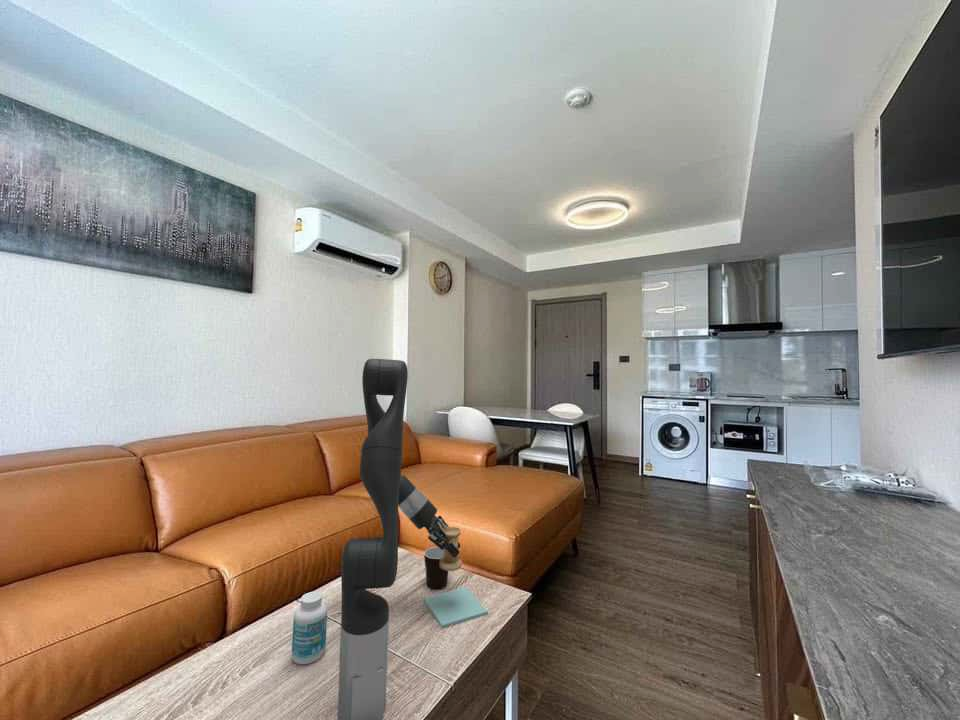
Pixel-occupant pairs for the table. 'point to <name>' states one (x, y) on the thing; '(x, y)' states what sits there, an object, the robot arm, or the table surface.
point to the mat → (454, 607)
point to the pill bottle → (309, 629)
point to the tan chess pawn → (448, 560)
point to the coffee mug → (435, 569)
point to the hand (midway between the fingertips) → (457, 551)
